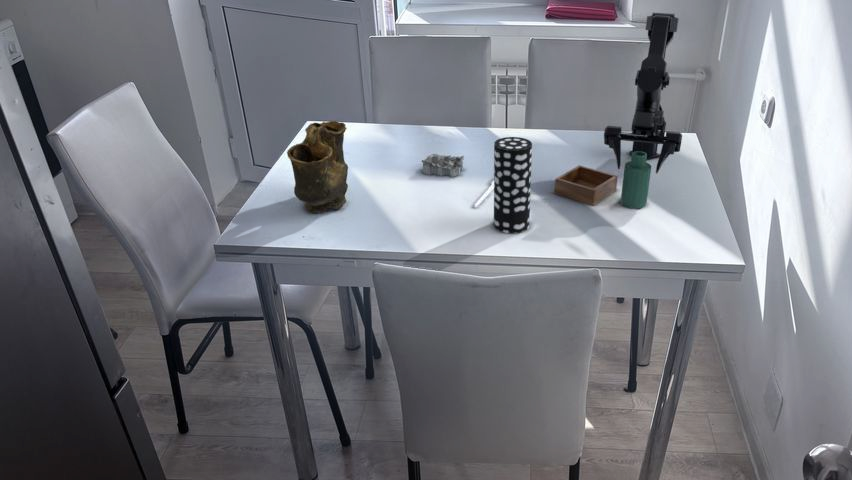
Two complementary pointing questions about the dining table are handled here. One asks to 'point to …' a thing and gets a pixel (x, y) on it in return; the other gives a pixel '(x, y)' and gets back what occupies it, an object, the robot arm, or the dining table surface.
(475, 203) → the fork
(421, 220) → the dining table surface
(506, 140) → the spotted tube
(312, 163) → the pottery vessel
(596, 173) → the crate
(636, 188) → the bottle
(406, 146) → the dining table surface
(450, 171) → the egg carton
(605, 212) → the dining table surface
